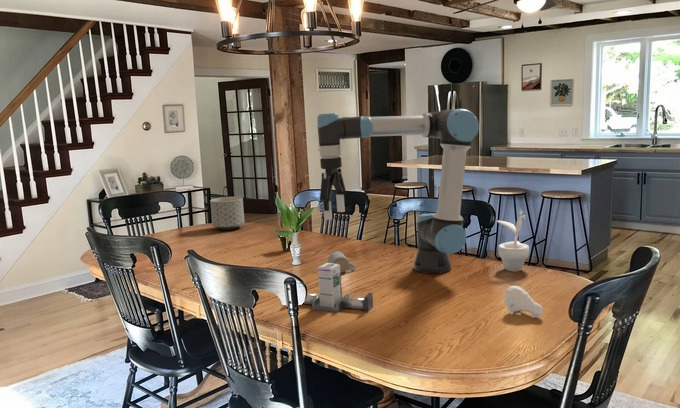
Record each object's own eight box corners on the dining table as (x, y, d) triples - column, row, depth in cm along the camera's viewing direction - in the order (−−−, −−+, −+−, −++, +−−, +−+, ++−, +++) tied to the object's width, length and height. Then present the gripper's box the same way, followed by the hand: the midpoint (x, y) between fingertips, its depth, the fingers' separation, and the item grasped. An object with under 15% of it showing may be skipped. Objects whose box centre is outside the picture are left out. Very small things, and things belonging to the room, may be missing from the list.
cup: (298, 251, 258) (294, 231, 257) (280, 254, 258) (275, 234, 257) (299, 247, 267) (296, 228, 266) (282, 250, 267) (278, 231, 266)
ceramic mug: (333, 275, 219) (333, 256, 218) (328, 269, 227) (327, 252, 226) (358, 272, 222) (357, 254, 221) (351, 267, 230) (351, 249, 229)
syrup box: (334, 310, 180) (332, 268, 177) (319, 307, 183) (317, 266, 180) (342, 304, 185) (340, 263, 182) (328, 302, 188) (325, 262, 185)
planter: (207, 232, 316) (205, 202, 313) (220, 225, 334) (217, 196, 331) (238, 232, 313) (236, 201, 310) (249, 225, 331) (246, 196, 328)
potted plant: (533, 268, 215) (534, 207, 211) (520, 275, 207) (521, 211, 203) (504, 263, 224) (504, 204, 219) (490, 270, 215) (490, 209, 211)
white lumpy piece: (513, 281, 172) (549, 293, 164) (511, 306, 174) (546, 318, 166) (503, 286, 168) (538, 298, 160) (500, 311, 170) (535, 324, 162)
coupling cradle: (375, 304, 183) (374, 290, 182) (365, 314, 174) (365, 300, 173) (299, 297, 193) (299, 284, 193) (287, 307, 185) (286, 293, 184)
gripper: (332, 154, 204) (336, 209, 207) (307, 161, 180) (312, 222, 184) (351, 153, 201) (355, 208, 205) (327, 160, 178) (332, 223, 181)
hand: (334, 215), depth 194 cm, fingers open, 13 cm apart
